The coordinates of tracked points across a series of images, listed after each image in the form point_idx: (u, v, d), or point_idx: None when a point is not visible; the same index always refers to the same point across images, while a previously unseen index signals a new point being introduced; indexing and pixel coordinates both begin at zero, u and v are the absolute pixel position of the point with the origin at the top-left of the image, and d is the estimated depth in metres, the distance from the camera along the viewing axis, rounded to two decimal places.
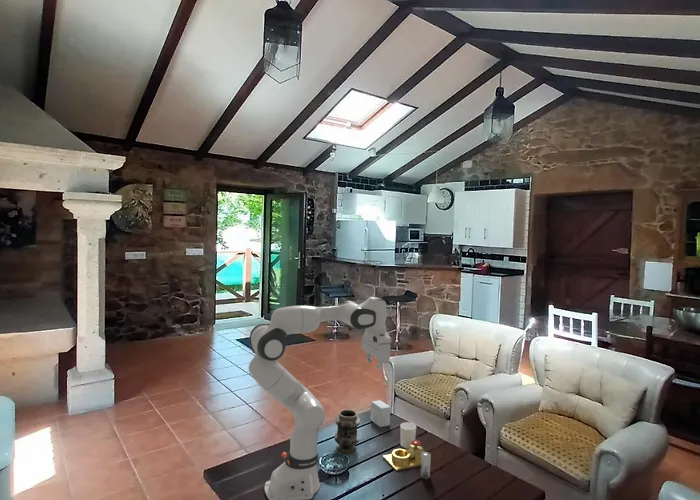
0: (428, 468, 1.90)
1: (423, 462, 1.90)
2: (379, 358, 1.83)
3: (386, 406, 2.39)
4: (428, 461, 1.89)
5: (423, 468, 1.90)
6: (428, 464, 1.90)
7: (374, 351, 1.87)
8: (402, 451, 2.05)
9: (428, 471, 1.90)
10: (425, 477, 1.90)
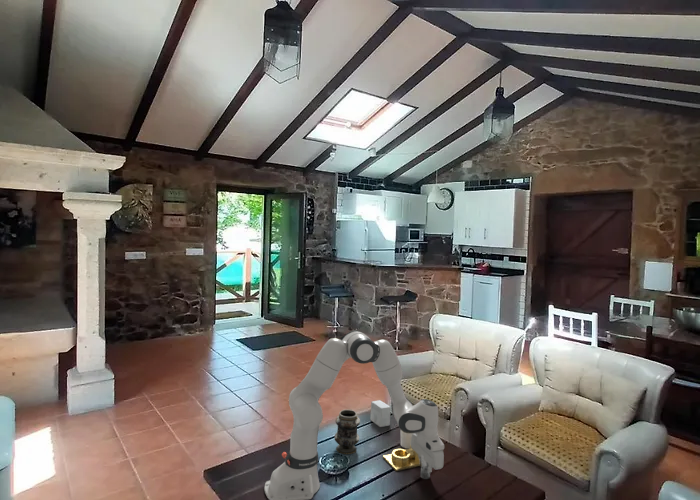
0: None
1: (423, 462, 1.90)
2: (432, 465, 1.83)
3: (386, 406, 2.39)
4: None
5: (423, 468, 1.90)
6: None
7: (426, 456, 1.88)
8: (402, 451, 2.05)
9: None
10: (425, 477, 1.90)
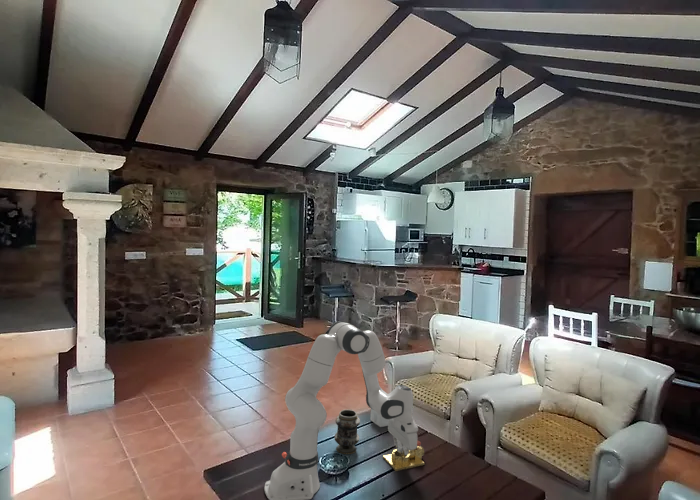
0: None
1: (398, 445, 2.01)
2: (407, 446, 1.94)
3: None
4: None
5: (398, 451, 2.01)
6: (403, 447, 2.01)
7: (401, 438, 1.99)
8: None
9: (403, 454, 2.01)
10: None
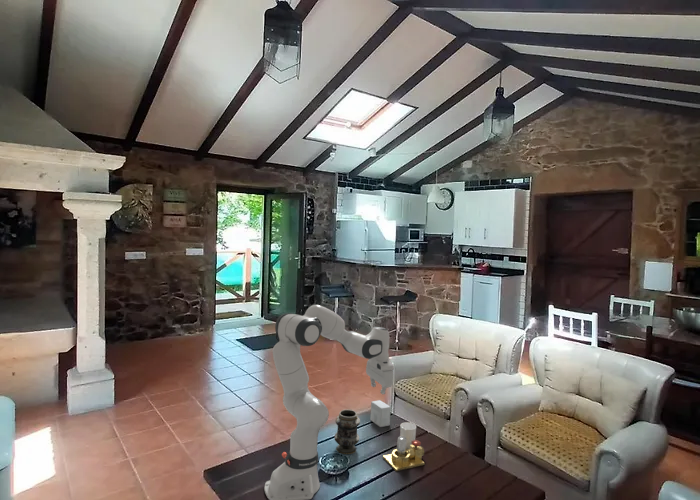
0: (403, 451, 2.01)
1: (399, 446, 2.01)
2: (382, 384, 1.99)
3: (386, 406, 2.39)
4: (404, 445, 2.01)
5: (398, 451, 2.01)
6: (404, 448, 2.01)
7: (378, 377, 2.03)
8: None
9: (403, 454, 2.01)
10: None
